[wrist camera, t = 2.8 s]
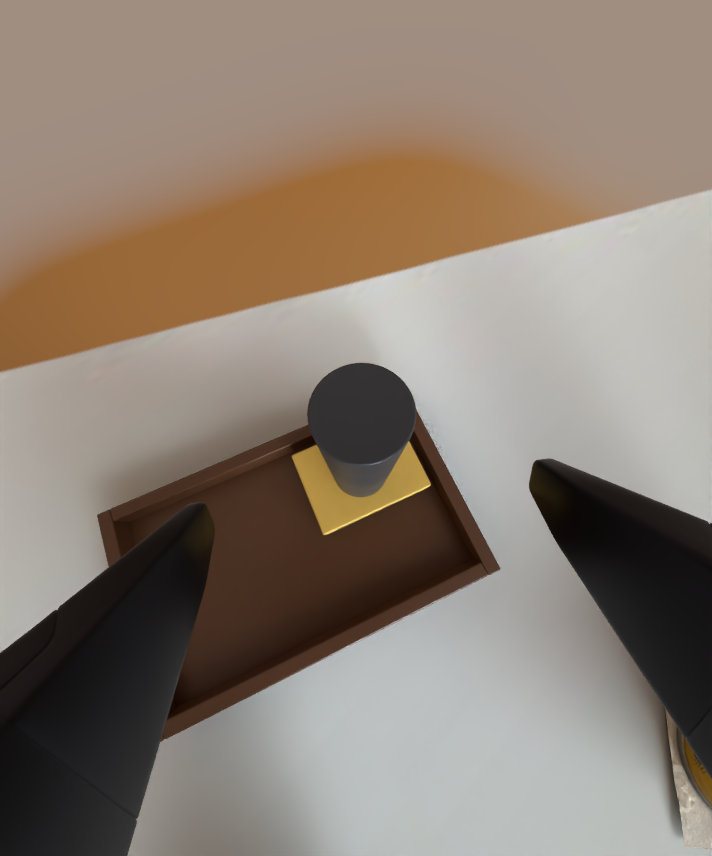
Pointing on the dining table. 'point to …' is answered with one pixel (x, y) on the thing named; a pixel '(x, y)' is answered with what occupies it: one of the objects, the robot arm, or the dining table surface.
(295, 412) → the dining table surface
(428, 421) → the dining table surface
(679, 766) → the condiment
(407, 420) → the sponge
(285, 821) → the dining table surface
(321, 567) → the tray
